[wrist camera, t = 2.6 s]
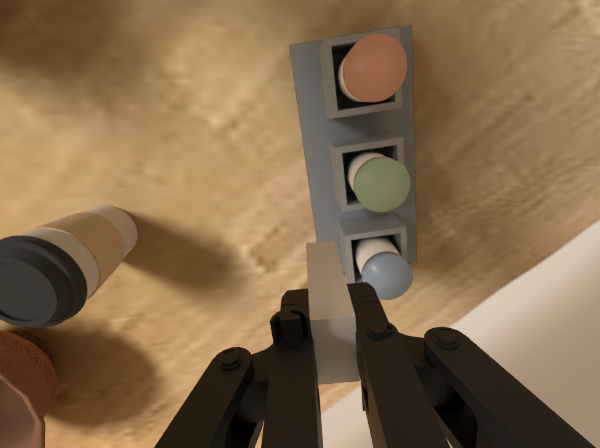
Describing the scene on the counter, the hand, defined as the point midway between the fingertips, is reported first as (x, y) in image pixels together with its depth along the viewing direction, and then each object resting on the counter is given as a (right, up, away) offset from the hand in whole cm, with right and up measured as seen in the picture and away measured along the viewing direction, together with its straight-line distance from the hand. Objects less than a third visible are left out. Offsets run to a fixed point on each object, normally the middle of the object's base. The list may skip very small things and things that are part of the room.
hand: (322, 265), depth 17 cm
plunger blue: (+7, -1, +18) cm, 20 cm away
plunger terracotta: (+4, +16, +12) cm, 21 cm away
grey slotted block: (+6, +10, +21) cm, 24 cm away
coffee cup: (-26, +1, +24) cm, 35 cm away
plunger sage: (+6, +8, +15) cm, 18 cm away
